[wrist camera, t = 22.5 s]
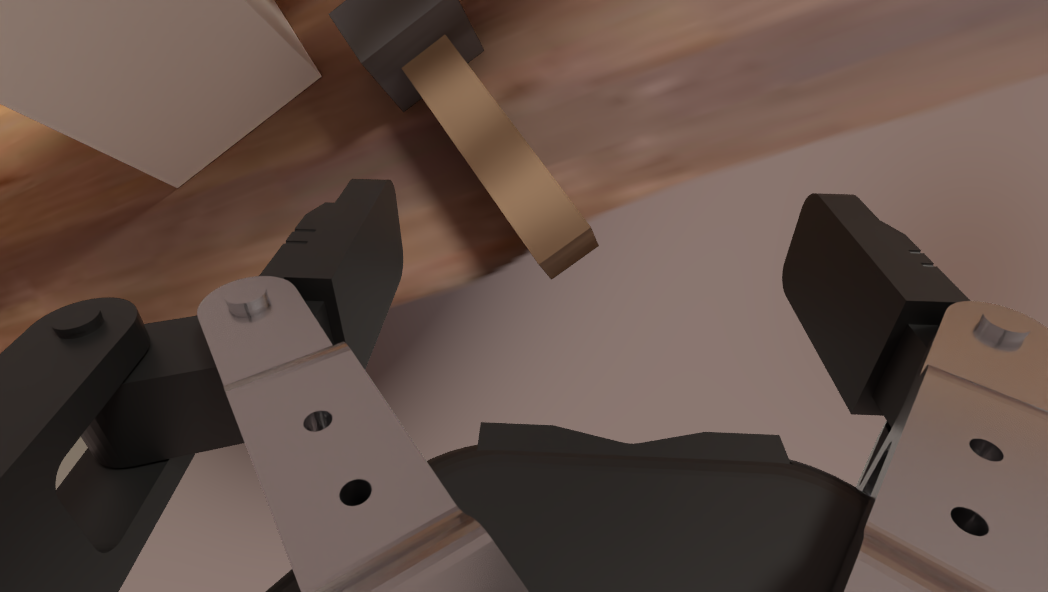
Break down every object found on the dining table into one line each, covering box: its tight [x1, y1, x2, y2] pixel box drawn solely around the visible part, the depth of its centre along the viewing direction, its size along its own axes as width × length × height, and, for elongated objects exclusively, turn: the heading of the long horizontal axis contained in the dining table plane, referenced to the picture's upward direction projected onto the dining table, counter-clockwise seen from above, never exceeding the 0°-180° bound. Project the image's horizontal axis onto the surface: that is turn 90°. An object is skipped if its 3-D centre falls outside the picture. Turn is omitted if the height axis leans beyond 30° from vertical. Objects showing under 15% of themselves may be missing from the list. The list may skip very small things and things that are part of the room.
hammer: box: [329, 0, 599, 279], centre depth 31 cm, size 18×6×5 cm, turn 33°
